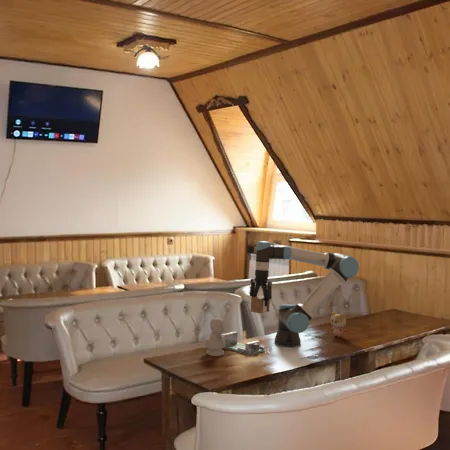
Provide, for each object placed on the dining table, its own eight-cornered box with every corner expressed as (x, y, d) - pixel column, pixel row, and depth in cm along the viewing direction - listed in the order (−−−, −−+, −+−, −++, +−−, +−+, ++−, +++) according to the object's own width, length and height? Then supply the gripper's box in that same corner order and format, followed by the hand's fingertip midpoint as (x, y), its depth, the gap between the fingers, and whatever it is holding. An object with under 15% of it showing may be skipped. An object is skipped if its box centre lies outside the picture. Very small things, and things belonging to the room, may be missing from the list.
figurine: (229, 353, 320) (230, 317, 319) (214, 357, 310) (216, 321, 309) (215, 349, 326) (217, 315, 325) (201, 354, 316) (202, 318, 315)
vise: (234, 343, 340) (235, 331, 339) (264, 351, 325) (264, 338, 324) (220, 347, 331) (220, 334, 331) (249, 355, 316) (250, 342, 316)
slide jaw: (256, 347, 327) (256, 340, 327) (262, 349, 324) (263, 342, 323) (245, 350, 320) (245, 343, 320) (251, 352, 317) (251, 345, 316)
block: (260, 309, 331) (261, 295, 330) (269, 311, 327) (269, 297, 326) (250, 311, 324) (251, 297, 324) (259, 313, 320) (259, 298, 320)
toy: (326, 335, 365) (327, 311, 364) (335, 333, 371) (336, 310, 370) (339, 339, 358) (340, 314, 357) (348, 337, 364) (349, 313, 363)
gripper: (244, 267, 328) (242, 308, 329) (271, 272, 315) (269, 314, 316) (252, 266, 333) (250, 307, 334) (280, 271, 321) (277, 312, 322)
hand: (259, 310), depth 325 cm, fingers closed on block, 6 cm apart
